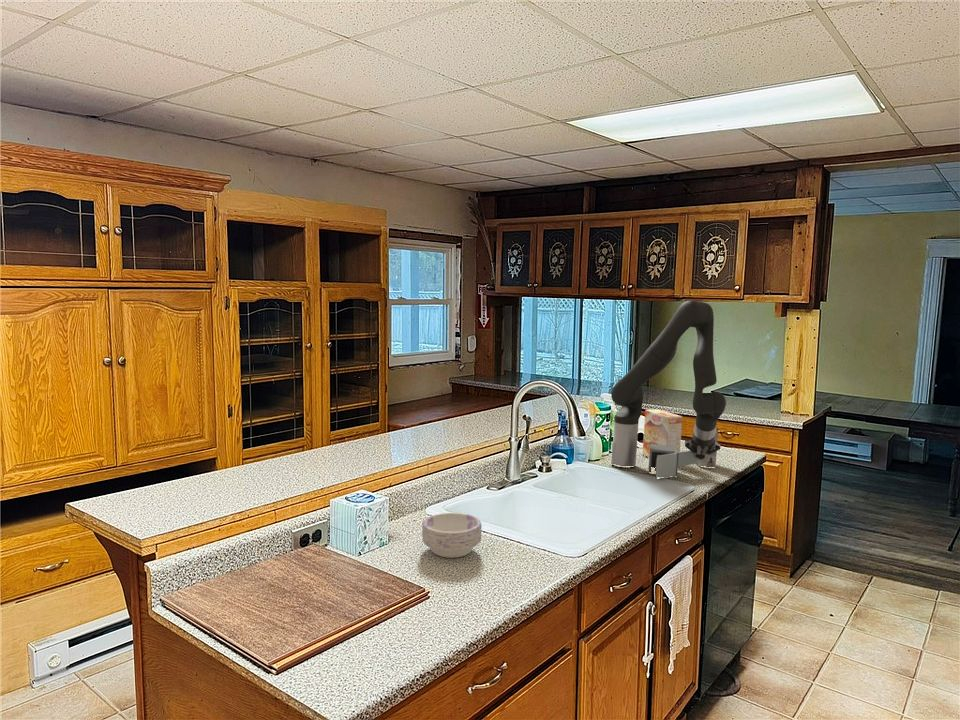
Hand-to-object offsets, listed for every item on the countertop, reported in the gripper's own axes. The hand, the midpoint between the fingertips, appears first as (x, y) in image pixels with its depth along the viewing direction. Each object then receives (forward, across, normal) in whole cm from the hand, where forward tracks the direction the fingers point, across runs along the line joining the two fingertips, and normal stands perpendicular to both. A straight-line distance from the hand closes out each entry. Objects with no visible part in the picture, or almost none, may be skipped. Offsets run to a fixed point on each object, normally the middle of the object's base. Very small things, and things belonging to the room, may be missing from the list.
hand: (700, 457), depth 250 cm
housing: (+4, +14, +6) cm, 16 cm away
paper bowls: (-64, +66, +77) cm, 120 cm away
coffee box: (+16, -3, -7) cm, 18 cm away
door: (0, +9, +10) cm, 13 cm away
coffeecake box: (+17, +14, -8) cm, 24 cm away
